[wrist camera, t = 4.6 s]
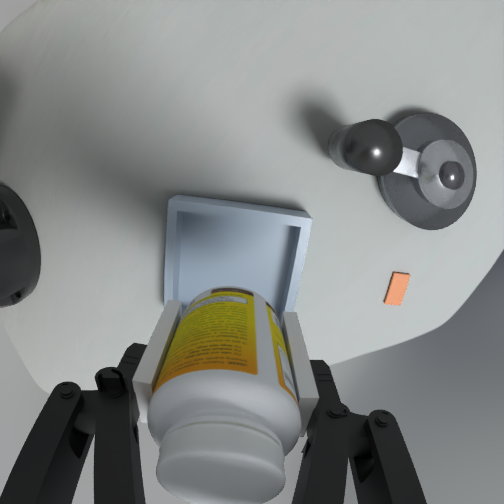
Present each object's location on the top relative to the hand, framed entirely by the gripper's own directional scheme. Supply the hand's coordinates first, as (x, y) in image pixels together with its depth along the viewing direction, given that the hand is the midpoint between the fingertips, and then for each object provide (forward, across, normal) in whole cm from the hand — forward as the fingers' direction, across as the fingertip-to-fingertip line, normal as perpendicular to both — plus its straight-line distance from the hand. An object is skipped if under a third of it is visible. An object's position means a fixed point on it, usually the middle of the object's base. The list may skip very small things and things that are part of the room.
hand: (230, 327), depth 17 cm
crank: (+9, +13, +11) cm, 19 cm away
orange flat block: (+11, +17, -2) cm, 20 cm away
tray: (+12, 0, -1) cm, 12 cm away
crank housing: (+12, +17, +11) cm, 23 cm away
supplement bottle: (0, 0, 0) cm, 0 cm away
